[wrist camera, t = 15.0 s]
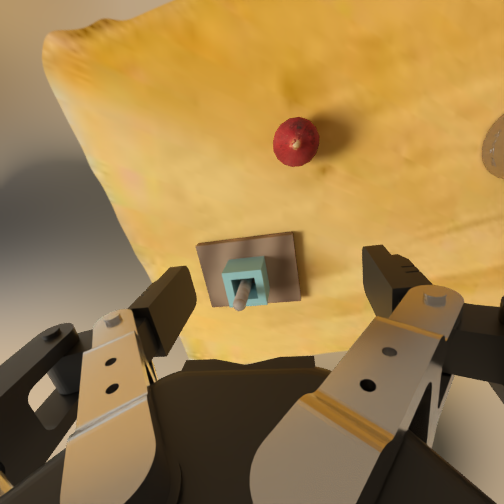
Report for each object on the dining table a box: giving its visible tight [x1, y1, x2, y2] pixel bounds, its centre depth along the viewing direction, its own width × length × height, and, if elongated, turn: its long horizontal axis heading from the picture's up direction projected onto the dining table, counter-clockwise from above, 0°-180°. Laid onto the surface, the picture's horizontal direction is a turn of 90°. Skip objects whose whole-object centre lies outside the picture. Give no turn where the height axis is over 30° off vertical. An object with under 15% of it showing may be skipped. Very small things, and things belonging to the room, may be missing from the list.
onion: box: [273, 117, 319, 167], centre depth 34 cm, size 6×6×8 cm
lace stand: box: [196, 232, 301, 311], centre depth 41 cm, size 16×12×11 cm
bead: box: [222, 256, 270, 307], centre depth 43 cm, size 6×6×5 cm
